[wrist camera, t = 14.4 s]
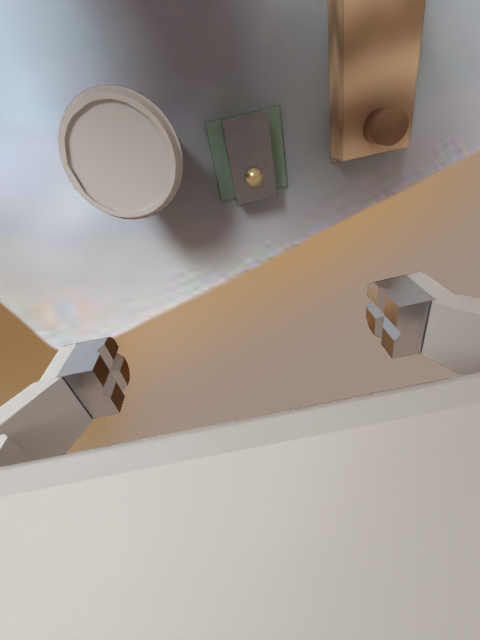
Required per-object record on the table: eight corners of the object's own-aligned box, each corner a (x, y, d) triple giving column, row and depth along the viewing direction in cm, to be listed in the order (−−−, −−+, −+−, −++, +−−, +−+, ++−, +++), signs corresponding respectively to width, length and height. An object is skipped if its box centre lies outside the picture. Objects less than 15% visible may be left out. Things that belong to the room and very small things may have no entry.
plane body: (326, -121, 24) (378, -224, 17) (413, -142, 24) (505, -256, 17) (330, 162, 36) (363, 174, 29) (389, 149, 36) (437, 158, 28)
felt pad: (205, 122, 33) (204, 122, 32) (278, 105, 32) (279, 105, 32) (221, 199, 37) (221, 200, 37) (286, 185, 37) (287, 186, 36)
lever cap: (220, 121, 32) (222, 121, 29) (262, 111, 32) (268, 110, 29) (235, 198, 37) (238, 206, 34) (272, 190, 37) (278, 197, 34)
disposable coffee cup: (95, 83, 30) (41, 68, 20) (193, 105, 32) (187, 100, 22) (101, 186, 35) (60, 214, 25) (185, 199, 37) (177, 231, 27)
